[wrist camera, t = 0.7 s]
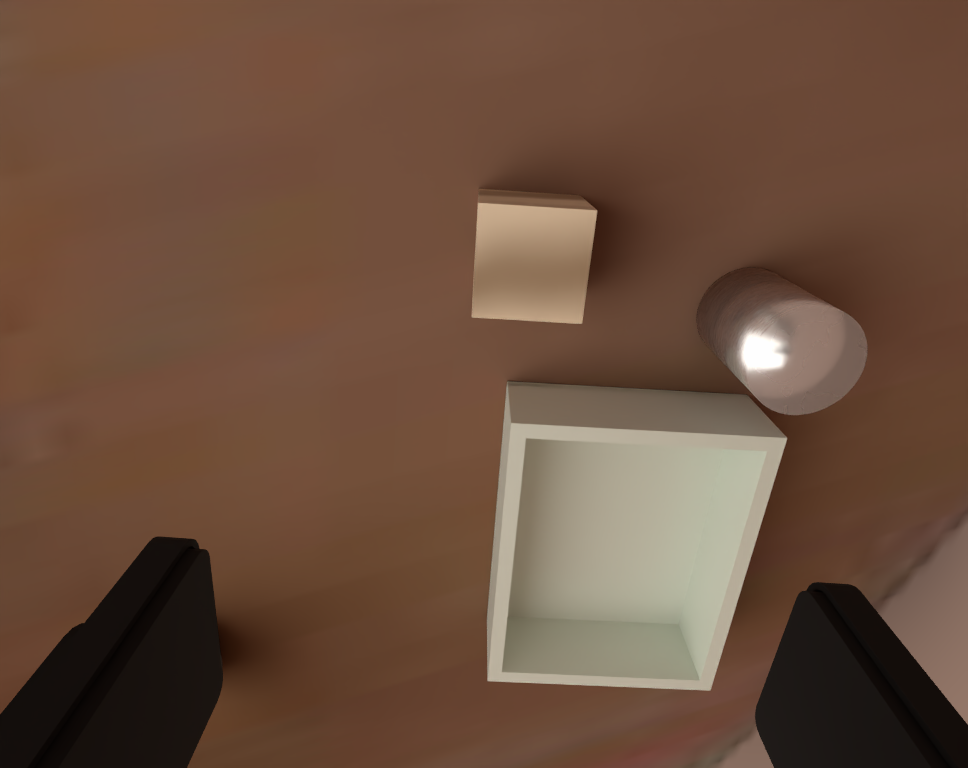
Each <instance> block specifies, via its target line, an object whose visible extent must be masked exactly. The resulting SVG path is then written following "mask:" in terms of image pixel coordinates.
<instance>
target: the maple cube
mask: <svg viewBox="0 0 968 768" xmlns="http://www.w3.org/2000/svg"><path fill="white" fill-rule="evenodd" d="M596 217H597V210H596V209H595V208H594V207H593V206H592V205H591V204H589V203H588V202H587V201H586V200H585V199H584V198H583V197H581V196H580V195H569V194H554V193H538V192H523V191H508V190H493V189H479V193H478V211H477V228H476V246H475V263H474V281H473V300H472V317H475V318H492V319H508V320H525V321H542V322H559V323H576V324H582V320H583V312H584V305H585V298H586V290H587V283H588V276H589V268H590V261H591V254H592V246H593V239H594V232H595V224H596Z"/></svg>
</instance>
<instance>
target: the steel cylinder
mask: <svg viewBox="0 0 968 768" xmlns="http://www.w3.org/2000/svg"><path fill="white" fill-rule="evenodd" d="M697 329H698V332H699V335H700V337H701V339H702V340H703V342H704V343H705V344H706V345H707V346H708V347H709V349H710V350H711V351H712V352H713V353H714V354H715V355H716V356H717V357H718V358H719V359H720V360H721V361H722V362H723V363H724V364H725V365H726V366H727V367H728V369H729V370H730V371H731V372H732V373H733V374H734V375H735V376H736V377H737V378H738V379H739V380H740V381H741V382H742V383H743V384H744V385H745V386H746V387H747V389H748V390H749V391H750V392H751V393H752V394H753V395H754V396H755V397H756V398H757V399H758V400H759V401H760V402H761V403H762V404H763V405H764V406H766V407H767V408H769V409H771V410H773V411H775V412H778V413H782V414H787V415H803V414H809V413H814V412H817V411H820V410H822V409H824V408H827V407H829V406H830V405H832V404H834V403H836V402H837V401H838V400H840V399H841V398H842V397H843V396H845V395H846V394H847V393H848V392H849V391H850V390H851V389H852V387H853V386H854V385H855V384H856V382H857V381H858V379H859V377H860V376H861V374H862V372H863V369H864V367H865V363H866V360H867V340H866V337H865V334H864V331H863V330H862V328H861V326H860V325H859V324H858V322H857V321H856V320H855V319H854V318H852V317H851V316H850V315H848V314H847V313H845V312H843V311H841V310H840V309H838V308H836V307H834V306H832V305H831V304H829V303H827V302H825V301H823V300H822V299H820V298H818V297H816V296H814V295H813V294H811V293H809V292H807V291H806V290H804V289H802V288H800V287H798V286H797V285H795V284H793V283H791V282H789V281H788V280H786V279H784V278H782V277H781V276H779V275H777V274H775V273H773V272H771V271H769V270H767V269H763V268H757V267H747V268H741V269H737V270H734V271H731V272H729V273H727V274H725V275H724V276H722V277H721V278H719V279H718V280H717V281H715V282H714V283H713V284H712V285H711V286H710V287H709V288H708V290H707V291H706V293H705V294H704V296H703V297H702V299H701V302H700V304H699V307H698V311H697Z"/></svg>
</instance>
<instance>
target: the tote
mask: <svg viewBox="0 0 968 768" xmlns="http://www.w3.org/2000/svg"><path fill="white" fill-rule="evenodd" d="M786 441H787V437H786V436H785V435H784V434H783V433H782V432H781V431H780V430H779V429H778V428H777V426H776V425H775V424H774V423H773V422H772V421H771V420H770V419H769V418H768V417H767V416H766V415H765V414H764V412H763V411H762V410H761V409H760V408H759V407H758V406H757V405H756V404H755V403H754V402H753V401H752V400H751V398H750V397H749V396H748V395H744V394H727V393H709V392H691V391H673V390H655V389H638V388H620V387H602V386H584V385H566V384H549V383H531V382H513V381H507V390H506V402H505V413H504V425H503V437H502V448H501V460H500V472H499V483H498V495H497V507H496V518H495V530H494V542H493V554H492V565H491V577H490V589H489V600H488V612H487V674H488V681H498V682H522V683H545V684H569V685H593V686H616V687H640V688H664V689H687V690H711V687H712V683H713V680H714V677H715V674H716V670H717V667H718V664H719V660H720V657H721V654H722V651H723V647H724V644H725V641H726V637H727V634H728V631H729V628H730V624H731V621H732V618H733V615H734V611H735V608H736V605H737V601H738V598H739V595H740V592H741V588H742V585H743V582H744V578H745V575H746V572H747V569H748V565H749V562H750V559H751V556H752V552H753V549H754V546H755V542H756V539H757V536H758V533H759V529H760V526H761V523H762V520H763V516H764V513H765V510H766V506H767V503H768V500H769V497H770V493H771V490H772V487H773V483H774V480H775V477H776V474H777V470H778V467H779V464H780V461H781V457H782V454H783V451H784V447H785V444H786Z"/></svg>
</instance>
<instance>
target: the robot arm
mask: <svg viewBox="0 0 968 768" xmlns="http://www.w3.org/2000/svg"><path fill="white" fill-rule="evenodd" d="M222 682H223V670H222V661H221V653H220V644H219V635H218V626H217V617H216V609H215V600H214V591H213V582H212V573H211V564H210V556H209V553H208V551H207V550H205V549H199V545H198V543H197V541H196V540H194V539H186V538H172V537H155V538H153V539H152V540H151V541H150V542H149V543H148V544H147V545H146V546H145V548H144V549H143V550H142V551H141V553H140V554H139V555H138V556H137V558H136V559H135V560H134V561H133V563H132V564H131V565H130V567H129V568H128V569H127V570H126V572H125V573H124V574H123V575H122V577H121V578H120V579H119V580H118V582H117V583H116V584H115V585H114V587H113V588H112V589H111V590H110V592H109V593H108V594H107V595H106V597H105V598H104V599H103V600H102V602H101V603H100V604H99V605H98V607H97V608H96V609H95V610H94V612H93V613H92V614H91V615H90V617H89V618H88V619H87V620H86V622H85V623H81V624H79V625H77V626H75V627H74V628H72V629H71V630H70V631H69V632H68V633H67V634H66V635H65V636H64V637H63V638H62V640H61V641H60V642H59V643H58V644H57V646H56V647H55V648H54V649H53V651H52V652H51V653H50V654H49V656H48V657H47V658H46V659H45V660H44V662H43V663H42V664H41V665H40V667H39V668H38V669H37V670H36V671H35V673H34V674H33V675H32V676H31V678H30V679H29V680H28V681H27V682H26V684H25V685H24V686H23V687H22V689H21V690H20V691H19V692H18V694H17V695H16V696H15V697H14V698H13V700H12V701H11V702H10V703H9V705H8V706H7V707H6V708H5V709H4V711H3V712H2V713H1V714H0V768H187V766H188V764H189V762H190V760H191V757H192V755H193V753H194V751H195V749H196V747H197V744H198V742H199V740H200V738H201V736H202V734H203V731H204V729H205V727H206V725H207V723H208V720H209V718H210V716H211V714H212V712H213V710H214V707H215V705H216V703H217V701H218V698H219V695H220V692H221V688H222ZM755 719H756V726H757V730H758V732H759V735H760V737H761V739H762V742H763V744H764V746H765V748H766V750H767V753H768V755H769V757H770V759H771V762H772V764H773V766H774V768H968V725H967V723H966V722H965V721H964V720H963V718H962V717H961V716H960V715H959V714H958V712H957V711H956V710H955V709H954V707H953V706H952V705H951V703H950V702H949V701H948V700H947V698H946V697H945V696H944V695H943V694H942V692H941V691H940V690H939V688H938V687H937V686H936V685H935V683H934V682H933V681H932V680H931V679H930V677H929V676H928V675H927V674H926V672H925V671H924V670H923V669H922V667H921V666H920V665H919V664H918V662H917V661H916V660H915V659H914V657H913V656H912V655H911V654H910V652H909V651H908V650H907V649H906V647H905V646H904V645H903V644H902V642H901V641H900V640H899V639H898V637H897V636H896V635H895V634H894V632H893V631H892V630H891V629H890V627H889V626H888V625H887V624H886V622H885V621H884V620H883V619H882V617H881V616H880V615H879V614H878V612H877V611H876V610H875V609H874V608H873V606H872V605H871V604H870V603H869V601H868V600H867V599H866V598H865V596H864V595H863V594H862V593H861V591H860V590H858V589H857V588H856V587H855V586H852V585H849V584H835V583H821V582H816V583H812V584H811V585H810V586H809V587H808V589H807V591H802V592H800V593H799V595H798V596H797V599H796V601H795V604H794V607H793V609H792V612H791V615H790V617H789V620H788V623H787V625H786V628H785V631H784V634H783V636H782V639H781V642H780V644H779V647H778V650H777V652H776V655H775V658H774V661H773V663H772V666H771V669H770V671H769V674H768V677H767V679H766V682H765V685H764V687H763V690H762V693H761V696H760V698H759V701H758V704H757V707H756V712H755Z"/></svg>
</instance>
